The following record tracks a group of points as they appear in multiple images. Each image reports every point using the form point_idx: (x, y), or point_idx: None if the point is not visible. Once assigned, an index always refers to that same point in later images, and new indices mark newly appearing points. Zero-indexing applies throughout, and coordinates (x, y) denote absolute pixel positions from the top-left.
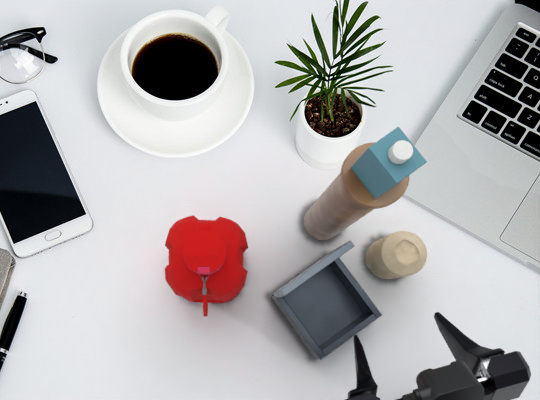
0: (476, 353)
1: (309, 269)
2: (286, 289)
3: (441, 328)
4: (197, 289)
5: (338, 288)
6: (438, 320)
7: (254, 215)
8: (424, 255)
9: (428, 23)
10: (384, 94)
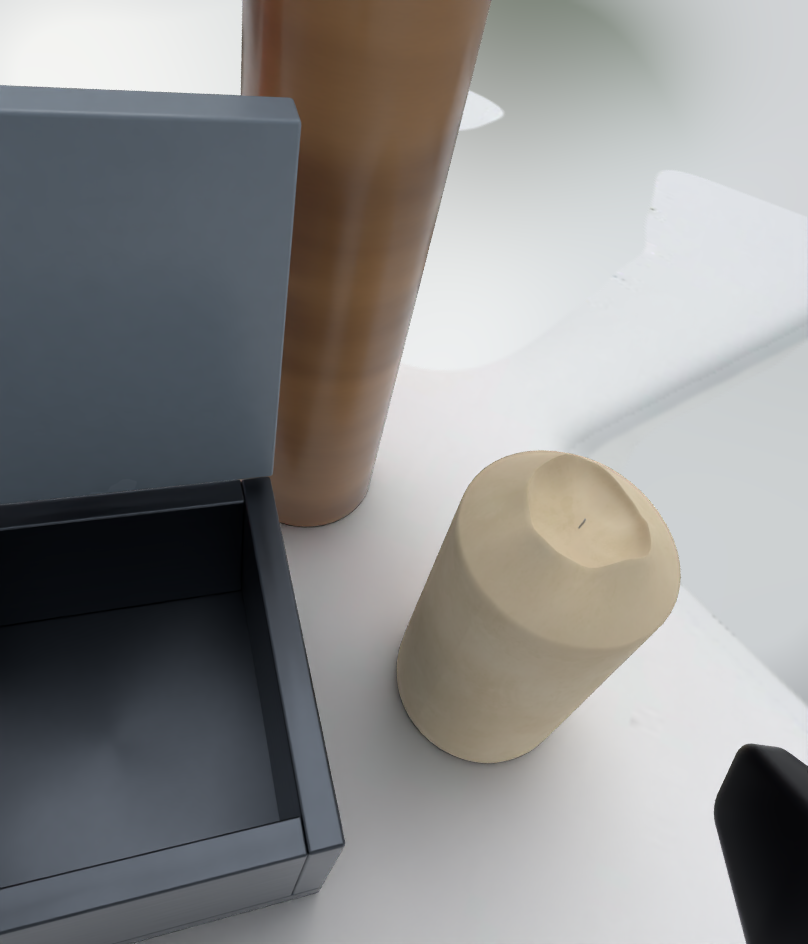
0: None
1: None
2: None
3: (798, 929)
4: None
5: (231, 699)
6: (775, 821)
7: None
8: (668, 579)
9: (760, 223)
10: (622, 284)
